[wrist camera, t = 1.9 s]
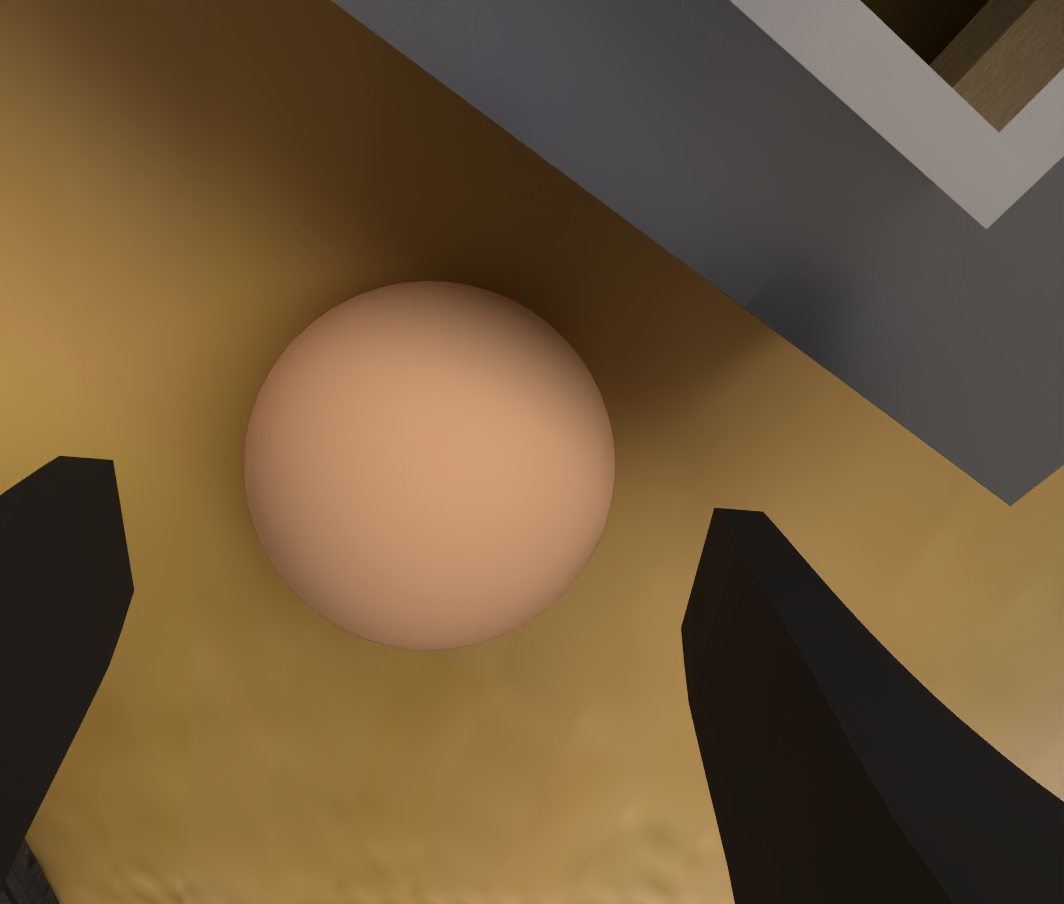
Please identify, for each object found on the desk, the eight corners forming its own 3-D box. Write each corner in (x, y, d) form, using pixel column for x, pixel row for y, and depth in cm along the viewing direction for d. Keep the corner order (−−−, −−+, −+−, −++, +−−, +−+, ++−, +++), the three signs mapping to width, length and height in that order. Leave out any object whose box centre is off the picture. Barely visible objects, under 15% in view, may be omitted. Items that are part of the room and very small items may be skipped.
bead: (666, 344, 15) (723, 552, 11) (483, 543, 17) (472, 778, 13) (394, 155, 13) (338, 316, 9) (229, 403, 15) (125, 623, 11)
